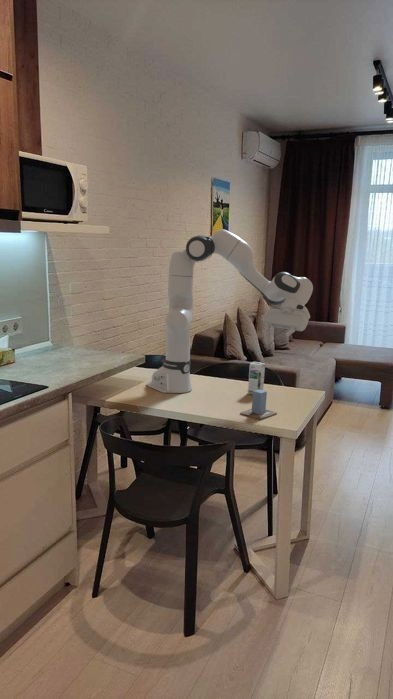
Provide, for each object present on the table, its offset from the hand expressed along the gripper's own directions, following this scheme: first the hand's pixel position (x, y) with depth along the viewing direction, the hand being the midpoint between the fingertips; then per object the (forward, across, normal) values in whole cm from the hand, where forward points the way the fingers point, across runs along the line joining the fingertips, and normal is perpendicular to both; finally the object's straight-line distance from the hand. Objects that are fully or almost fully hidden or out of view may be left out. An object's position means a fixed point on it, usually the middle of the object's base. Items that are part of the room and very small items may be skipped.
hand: (276, 334), depth 223 cm
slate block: (+31, +3, +12) cm, 34 cm away
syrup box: (+15, -16, +30) cm, 37 cm away
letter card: (+32, +3, +13) cm, 34 cm away
